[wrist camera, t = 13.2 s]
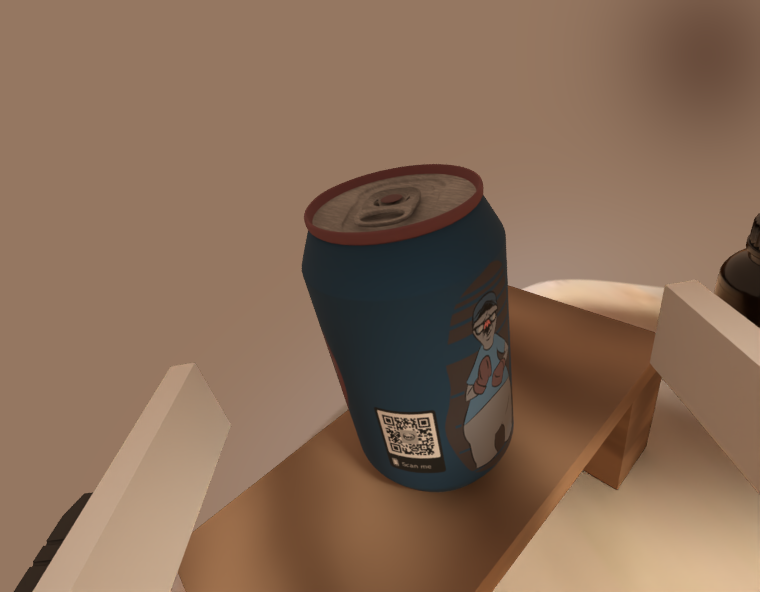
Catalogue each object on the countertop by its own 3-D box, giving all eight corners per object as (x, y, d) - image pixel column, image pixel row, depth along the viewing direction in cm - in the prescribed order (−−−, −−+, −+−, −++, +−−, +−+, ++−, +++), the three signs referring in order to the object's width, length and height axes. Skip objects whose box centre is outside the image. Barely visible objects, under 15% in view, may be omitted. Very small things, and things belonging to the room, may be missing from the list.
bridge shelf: (510, 378, 34) (506, 285, 29) (646, 446, 27) (670, 337, 22) (247, 635, 22) (169, 550, 17) (362, 873, 15) (284, 838, 10)
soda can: (384, 381, 23) (329, 171, 17) (513, 386, 21) (504, 147, 15) (346, 497, 18) (243, 251, 12) (515, 520, 16) (502, 233, 9)
